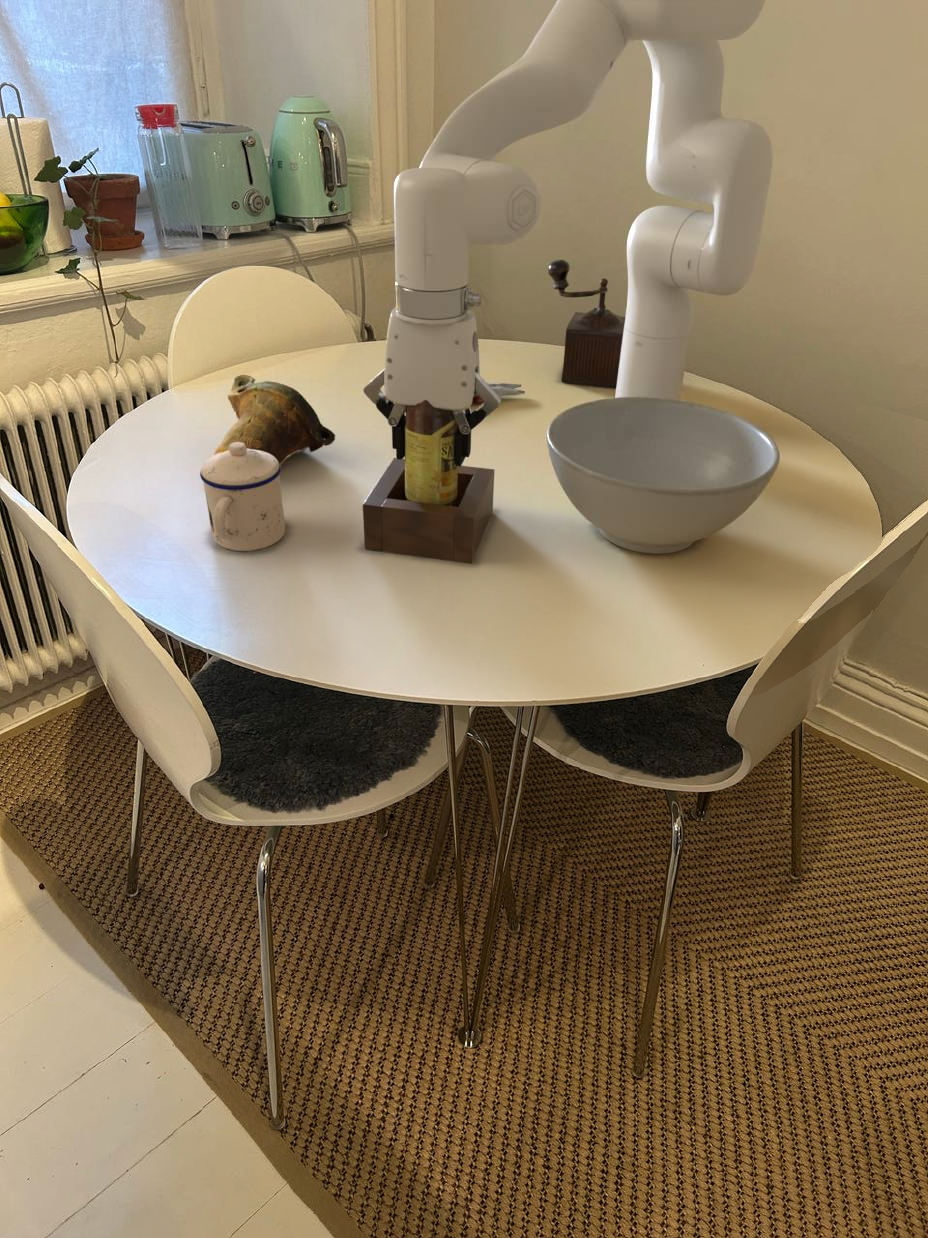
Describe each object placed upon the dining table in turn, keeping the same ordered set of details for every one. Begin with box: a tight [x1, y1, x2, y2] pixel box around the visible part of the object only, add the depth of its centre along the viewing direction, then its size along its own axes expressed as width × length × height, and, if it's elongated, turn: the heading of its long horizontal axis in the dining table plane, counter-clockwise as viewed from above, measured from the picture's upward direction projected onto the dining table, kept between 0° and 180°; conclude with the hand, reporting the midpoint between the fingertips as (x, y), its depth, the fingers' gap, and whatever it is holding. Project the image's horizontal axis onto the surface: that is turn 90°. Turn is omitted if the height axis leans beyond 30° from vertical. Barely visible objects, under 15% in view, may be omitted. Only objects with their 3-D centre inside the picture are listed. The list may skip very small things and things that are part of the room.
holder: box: [362, 457, 496, 564], centre depth 106 cm, size 13×13×6 cm
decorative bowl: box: [546, 397, 781, 554], centre depth 106 cm, size 27×27×12 cm
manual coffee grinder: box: [547, 259, 626, 389], centre depth 149 cm, size 16×11×18 cm
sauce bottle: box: [404, 400, 458, 507], centre depth 100 cm, size 6×6×20 cm
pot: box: [212, 374, 336, 466], centre depth 120 cm, size 17×11×18 cm
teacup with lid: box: [199, 442, 286, 552], centre depth 101 cm, size 12×9×12 cm
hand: (431, 456), depth 102 cm, fingers closed on sauce bottle, 6 cm apart
